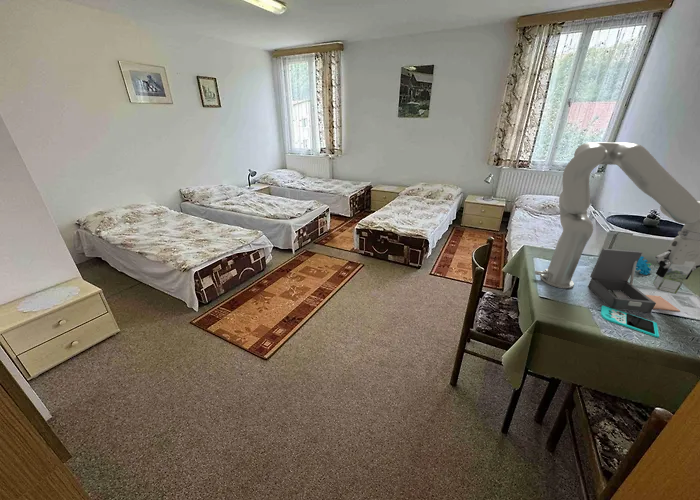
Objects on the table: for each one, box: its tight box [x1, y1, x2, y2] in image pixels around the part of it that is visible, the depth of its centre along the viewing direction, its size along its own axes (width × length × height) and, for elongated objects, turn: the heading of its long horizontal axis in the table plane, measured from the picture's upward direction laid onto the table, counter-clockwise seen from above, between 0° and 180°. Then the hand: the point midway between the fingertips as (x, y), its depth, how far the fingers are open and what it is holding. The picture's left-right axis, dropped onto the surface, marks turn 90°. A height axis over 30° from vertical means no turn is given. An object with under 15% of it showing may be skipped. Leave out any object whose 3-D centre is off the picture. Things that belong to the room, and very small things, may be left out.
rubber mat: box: [645, 294, 681, 313], centre depth 117 cm, size 10×10×1 cm
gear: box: [635, 255, 652, 276], centre depth 141 cm, size 11×6×10 cm
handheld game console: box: [600, 305, 660, 339], centre depth 107 cm, size 10×16×1 cm, turn 49°
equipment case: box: [587, 248, 656, 314], centre depth 116 cm, size 14×18×18 cm
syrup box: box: [652, 261, 695, 295], centre depth 111 cm, size 6×6×14 cm
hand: (671, 276), depth 112 cm, fingers closed on syrup box, 7 cm apart
